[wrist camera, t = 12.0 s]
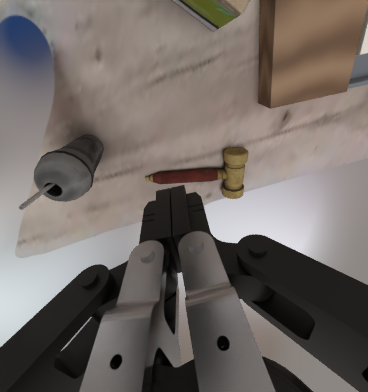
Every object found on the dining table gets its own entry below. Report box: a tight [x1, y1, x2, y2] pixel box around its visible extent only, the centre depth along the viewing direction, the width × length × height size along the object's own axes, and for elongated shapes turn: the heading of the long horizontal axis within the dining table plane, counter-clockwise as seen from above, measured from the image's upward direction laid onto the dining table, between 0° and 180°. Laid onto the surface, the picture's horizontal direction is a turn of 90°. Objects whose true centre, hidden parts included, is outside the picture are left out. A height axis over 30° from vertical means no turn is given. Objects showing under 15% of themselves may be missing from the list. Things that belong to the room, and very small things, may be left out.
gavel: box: [145, 147, 248, 199], centre depth 42 cm, size 21×5×10 cm
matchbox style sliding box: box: [258, 0, 368, 109], centre depth 30 cm, size 14×12×5 cm
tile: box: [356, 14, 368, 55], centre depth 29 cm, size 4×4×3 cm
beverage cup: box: [19, 135, 103, 210], centre depth 30 cm, size 7×7×20 cm
